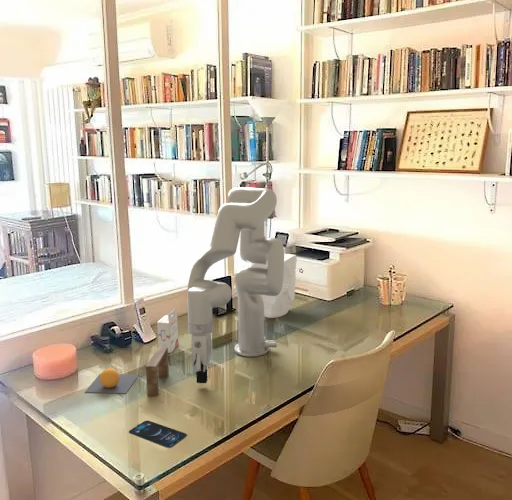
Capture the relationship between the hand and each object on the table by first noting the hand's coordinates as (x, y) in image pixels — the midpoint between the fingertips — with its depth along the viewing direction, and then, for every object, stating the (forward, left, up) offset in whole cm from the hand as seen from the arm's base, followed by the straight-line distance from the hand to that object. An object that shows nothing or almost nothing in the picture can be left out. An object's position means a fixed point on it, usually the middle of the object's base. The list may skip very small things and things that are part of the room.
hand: (202, 381), depth 170 cm
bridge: (+14, 0, -2) cm, 14 cm away
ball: (+29, +2, +2) cm, 29 cm away
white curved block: (-17, -78, -2) cm, 80 cm away
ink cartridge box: (+18, -30, -2) cm, 35 cm away
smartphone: (+7, +28, -2) cm, 29 cm away
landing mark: (+29, 0, -2) cm, 29 cm away
